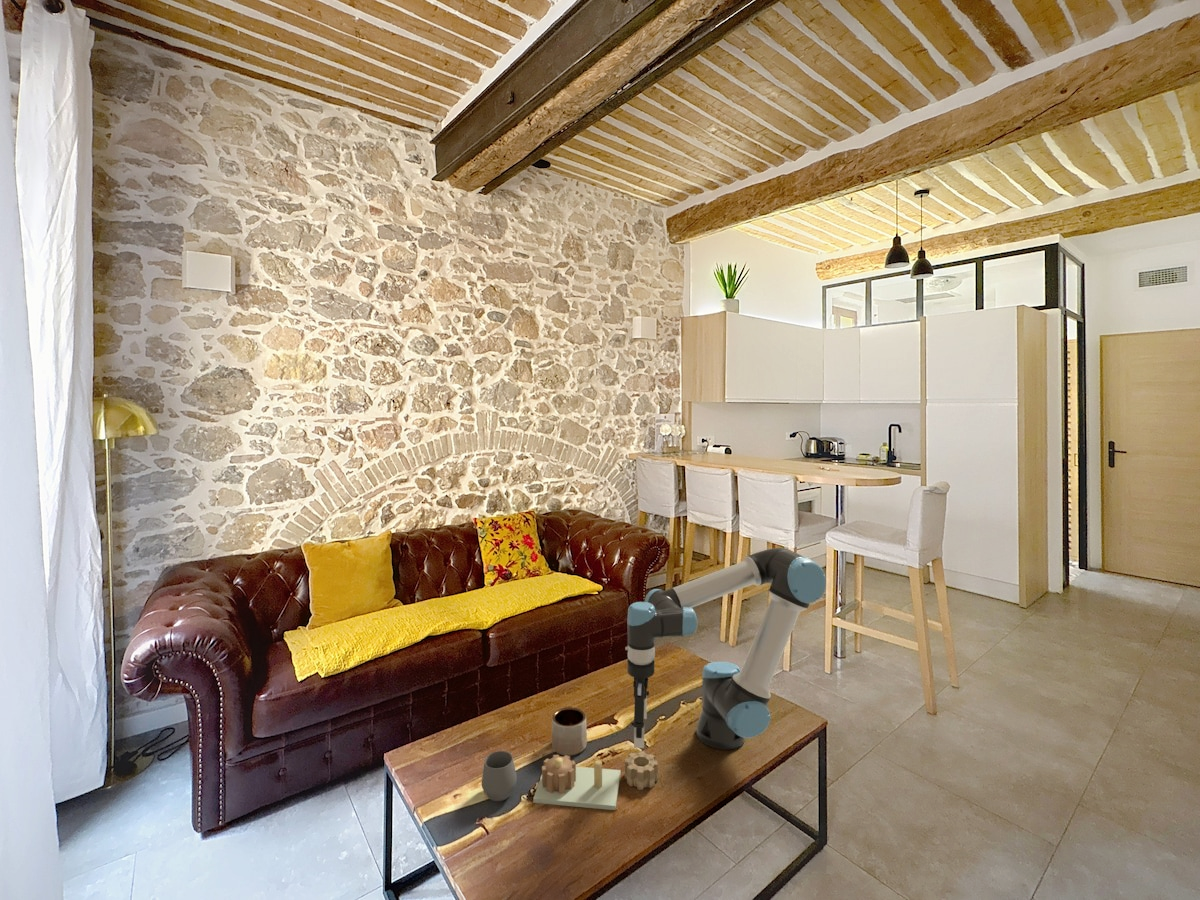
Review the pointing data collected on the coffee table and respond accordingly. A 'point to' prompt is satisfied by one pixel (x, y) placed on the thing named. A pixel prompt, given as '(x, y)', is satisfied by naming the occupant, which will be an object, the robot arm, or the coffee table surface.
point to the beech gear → (641, 770)
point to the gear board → (577, 784)
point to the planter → (569, 731)
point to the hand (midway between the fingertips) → (640, 732)
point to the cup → (499, 775)
